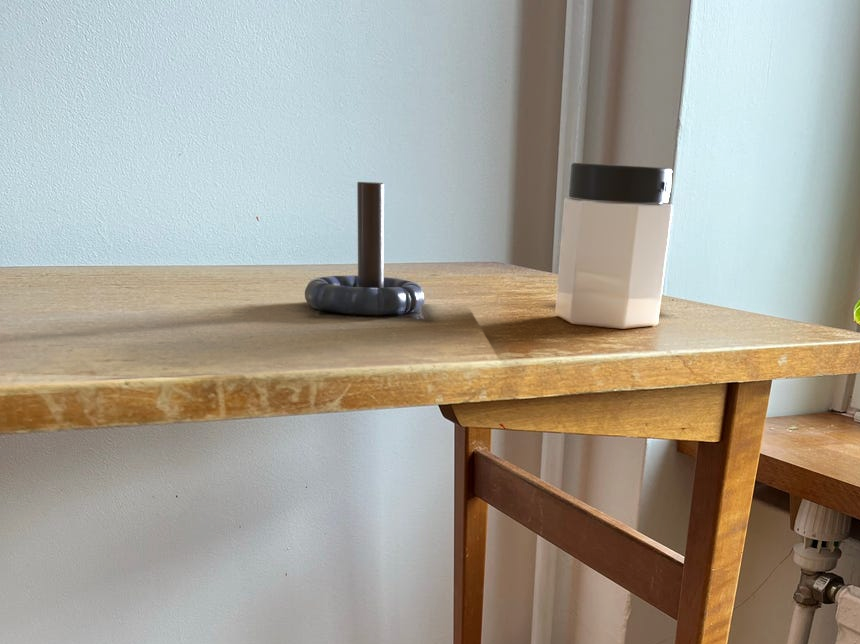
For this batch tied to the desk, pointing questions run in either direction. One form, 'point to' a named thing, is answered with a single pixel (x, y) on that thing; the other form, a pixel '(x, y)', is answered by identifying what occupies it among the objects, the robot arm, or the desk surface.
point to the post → (371, 243)
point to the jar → (614, 245)
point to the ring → (364, 296)
